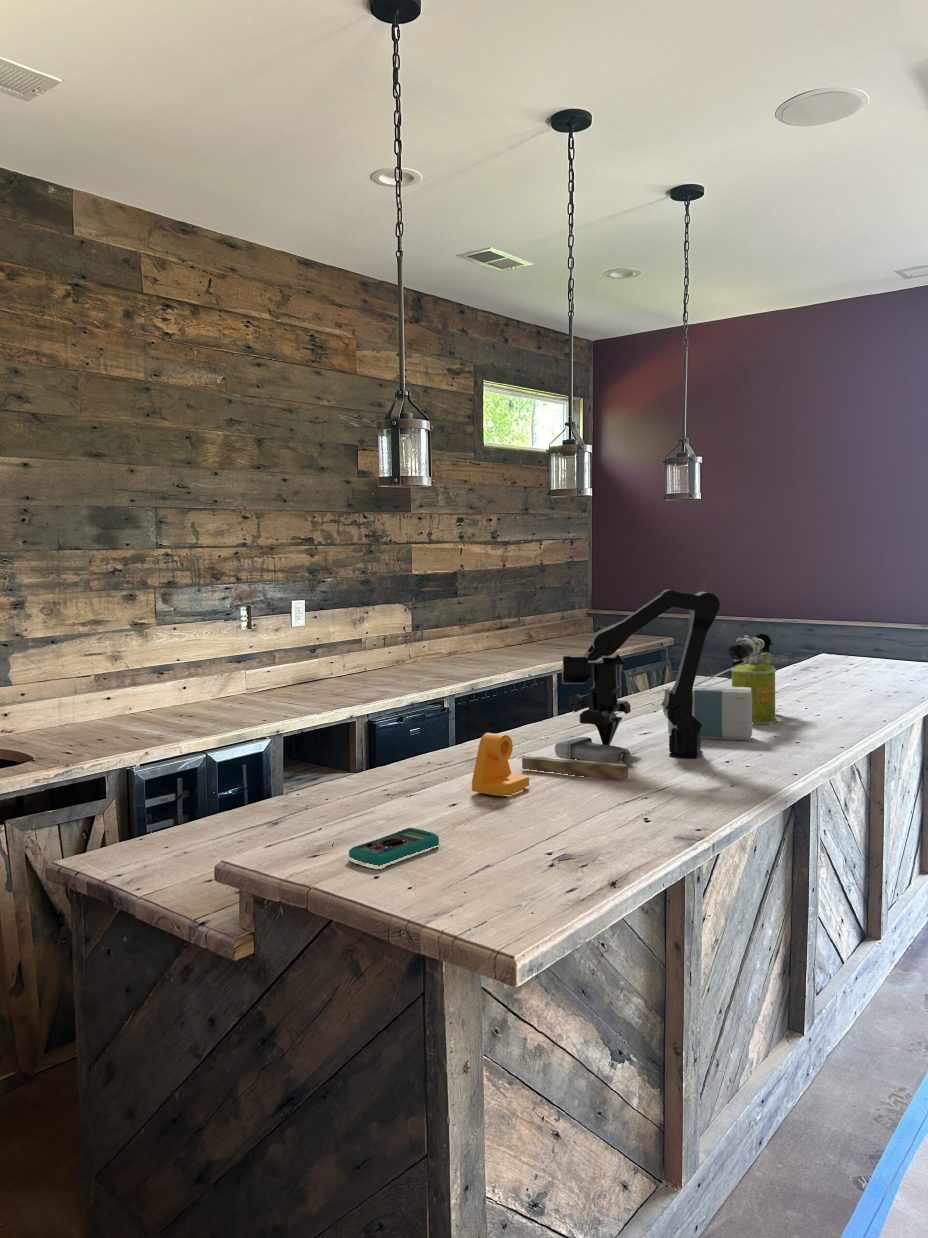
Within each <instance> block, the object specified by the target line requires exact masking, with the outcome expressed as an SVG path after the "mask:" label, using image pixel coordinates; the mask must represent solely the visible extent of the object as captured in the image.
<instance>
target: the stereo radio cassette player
mask: <svg viewBox="0 0 928 1238" xmlns="http://www.w3.org/2000/svg"><path fill="white" fill-rule="evenodd" d="M744 664H747V661H744V662H743V663H741V664H739V665H744ZM739 665H737V666H739ZM737 666H732V667H730V668H727V669H725V670H723V671H722V672H721V671H720V672H719V673H717V674H715V675H712V676H710V677H708V678H707V679H704V680H702V681H700V682H697V683H695V684H694V685H693V689H692V693H693V707H692V716H693V717H695V718H696V719H697V720H698V721H699V722H700V723H701V724H702V726H701V728H700V736H701V739H709V738H711V739H714V740H733V741H735V740H736V741H744V740H745V741H744V742H746V741H749V739H751V738H752V736H753V725H752V691H751V688H750V687H732V686H722V685H721V686H720V685H718V686H717V685H716V686H715V685H713V686H712V685H701V684H703V683H705V682H707V681H710V680H712V679H714V678H717V677H718V676H721V675H723V674H724V673H727V672H730V671H731V669H733V668H735V667H737ZM673 686H674V685H672V686H671V687H670V688H668V690H669V691H671V690H672V688H673ZM673 728H675V727H674V726H673V724H672V723H671V722H670V721H669V720H668V719H667V732H668V734H669V735H671V729H673Z"/></svg>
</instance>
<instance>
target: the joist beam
mask: <svg viewBox="0 0 928 1238" xmlns="http://www.w3.org/2000/svg"><path fill="white" fill-rule="evenodd" d="M521 763H522V764H521V769H522V768H523V769H529V770H537V771H544V772H554V773H561V774H568V775H575V776H574V777H577V776H584V777H583V778H587V777H591V778H590V779H596V778H599V780H606V779H607V781H608V780H609V781H614V782H616V781H617V782H625V781H627V780H628V779H629V764H617V763H606V762H596V761H585V760H581V759H578V760H575V759H564V758H559V757H555V756H554V757H552V756H540V755H530V754H525V755H524V756H522V758H521Z"/></svg>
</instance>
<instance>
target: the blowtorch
mask: <svg viewBox="0 0 928 1238" xmlns="http://www.w3.org/2000/svg"><path fill="white" fill-rule="evenodd" d="M735 641H736V642H735V643H733V644H732V645H731V646H729V649H728V654H729V657H730V658H731V659H732V660H733V662H731V665H732V668H733V667H735V666H737V665H739V664H741V665H739V666H737V667H735V668H733V669H731V670H730V671H731V687H750V688H751V691H752V723H753V724H760V725H768V724H767V723H773V724H775V723H777V722H778V719H777V718H776V672H777V668H776V667H775V665H771V657H772V653H769V652H770V647H771V646H772V645H774V644H775V642H774V641H773V642H772V639H771V637H770V636H769V635H768V634H766V633H758V634H757V635H756V636H755V637H751V636H750V635H743V637H740V636H739V637H738V638H737V639H736V640H735ZM760 651H762V653H760ZM759 653H760V656H761V662H762V664H760V663H759V661H758V658H757V657H758V654H759ZM743 661H744V662H745V661H746V662H748V663H744V662H743ZM742 663H743V664H742Z"/></svg>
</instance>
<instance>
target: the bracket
mask: <svg viewBox="0 0 928 1238" xmlns="http://www.w3.org/2000/svg"><path fill="white" fill-rule="evenodd" d="M513 747H514V746H513V740H512V738H511V736H510V735H508V734H500V733H492V732H485V733H484V734H483V735H482V736H481V738H480V740H479V744H478V749H477V755H476V759H475V765H474V770H473V775H472V780H471V791H472V792H474V793H481V794H486V795H492V796H496V797H498V796H500V797H503V796H502V795H511V794H513V793H516V792H519V791H521V790H524V791H525V788H526V787H529V786H530V776H529V775H525V774H521V773H514V772H512V771H511V767H510V763H509V759H510V757H511V755H512V753H513V749H514V748H513Z"/></svg>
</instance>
